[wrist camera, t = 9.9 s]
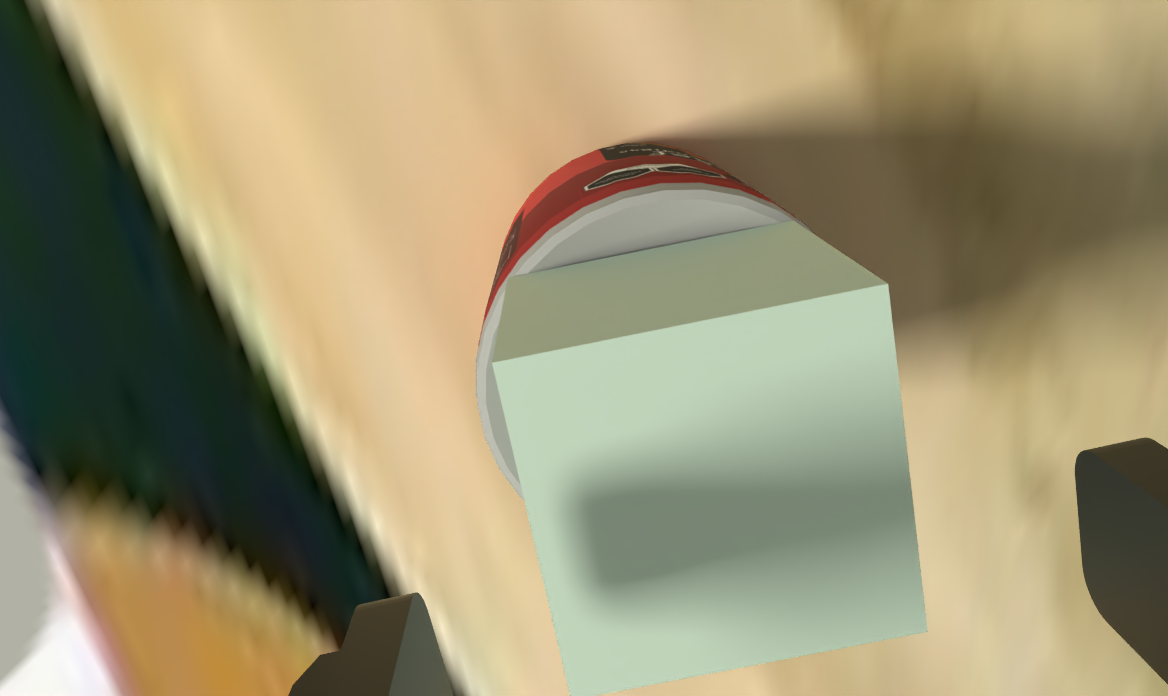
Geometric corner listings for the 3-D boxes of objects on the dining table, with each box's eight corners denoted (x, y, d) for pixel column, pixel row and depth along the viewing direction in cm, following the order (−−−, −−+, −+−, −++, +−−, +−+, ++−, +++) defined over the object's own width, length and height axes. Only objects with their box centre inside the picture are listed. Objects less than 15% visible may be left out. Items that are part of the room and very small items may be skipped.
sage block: (507, 278, 19) (492, 363, 14) (792, 220, 19) (887, 283, 14) (565, 534, 20) (571, 700, 15) (829, 483, 20) (927, 632, 15)
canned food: (812, 269, 30) (951, 382, 20) (619, 440, 32) (654, 630, 21) (642, 80, 29) (696, 93, 18) (447, 269, 30) (391, 383, 19)
